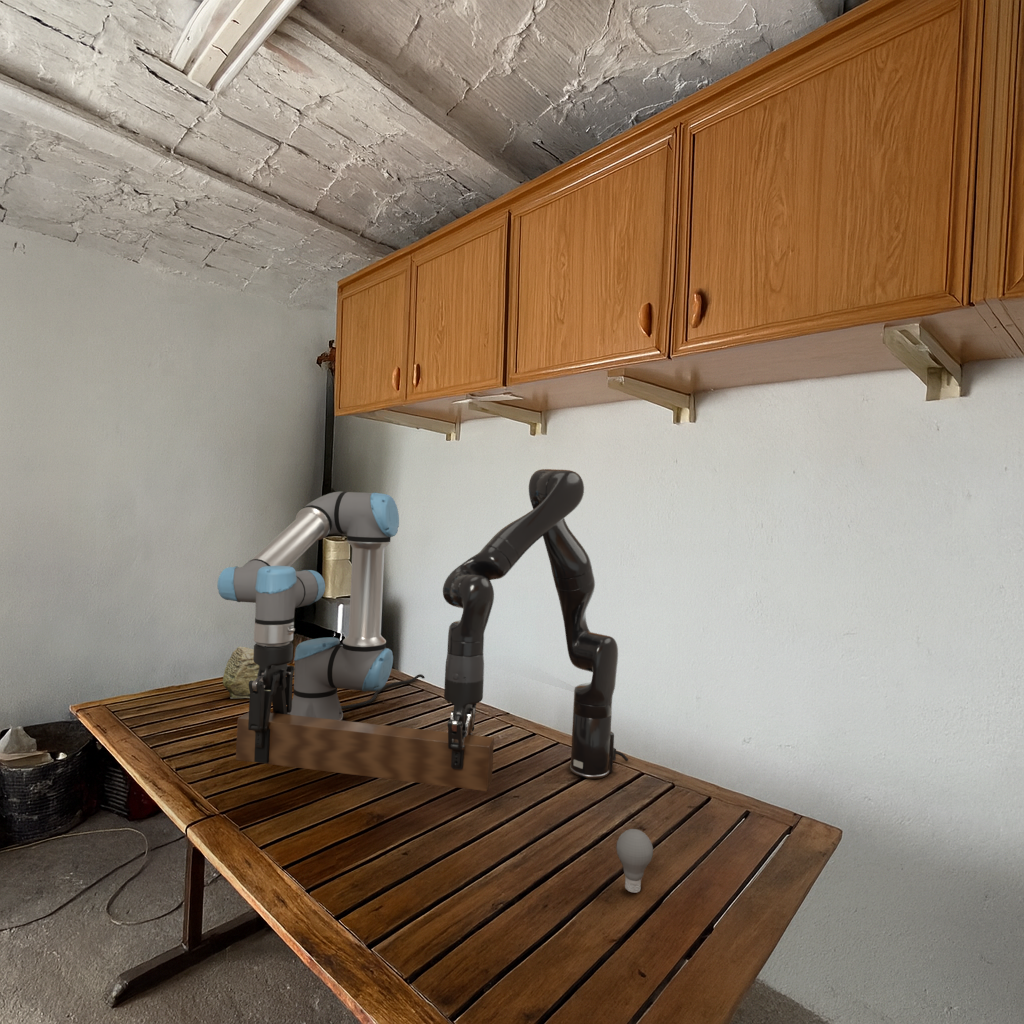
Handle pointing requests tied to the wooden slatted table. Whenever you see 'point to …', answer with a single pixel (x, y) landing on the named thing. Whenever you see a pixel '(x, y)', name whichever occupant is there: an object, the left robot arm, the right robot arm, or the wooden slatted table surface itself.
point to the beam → (370, 750)
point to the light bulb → (634, 857)
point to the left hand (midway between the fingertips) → (269, 755)
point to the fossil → (240, 672)
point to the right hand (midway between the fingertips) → (460, 761)
